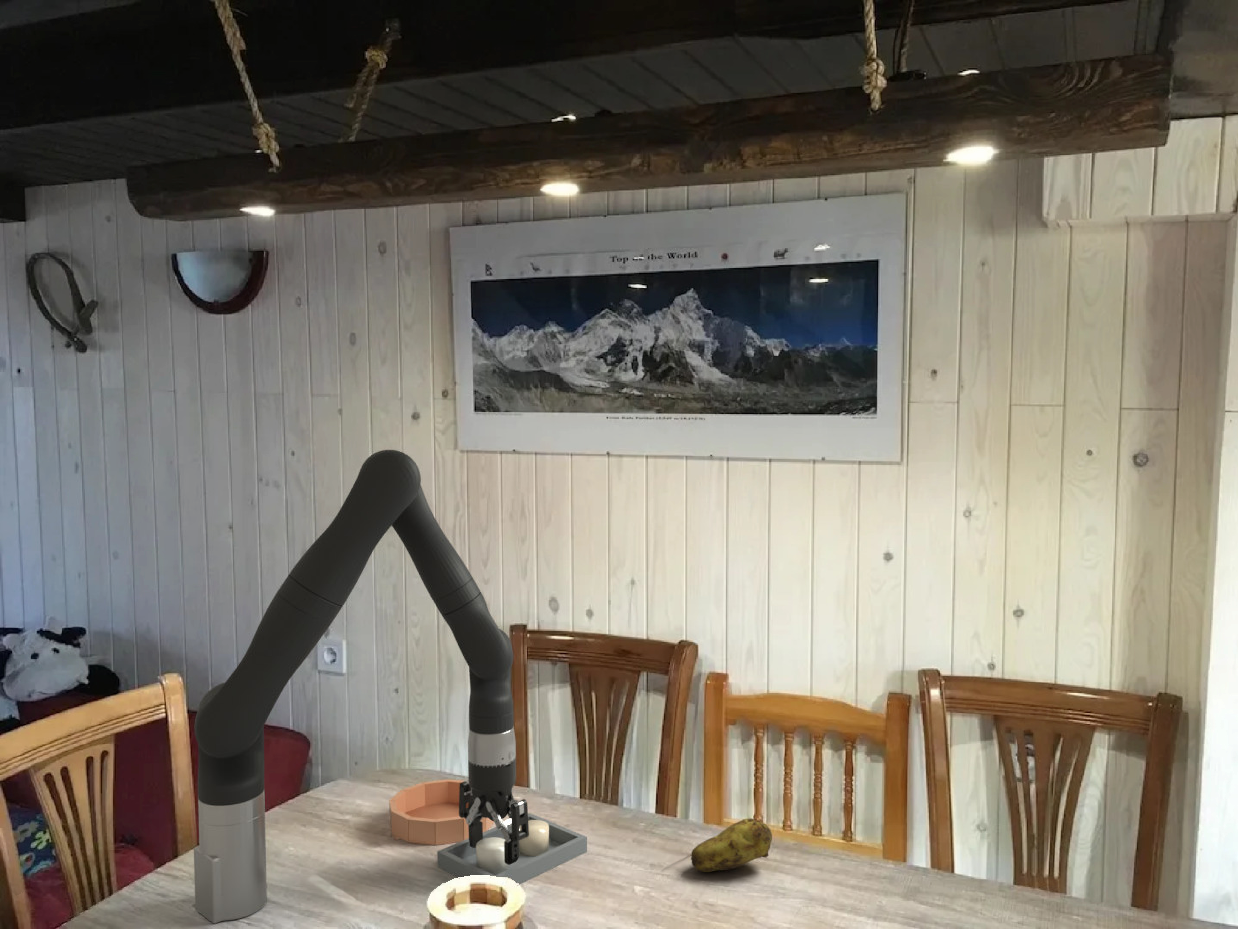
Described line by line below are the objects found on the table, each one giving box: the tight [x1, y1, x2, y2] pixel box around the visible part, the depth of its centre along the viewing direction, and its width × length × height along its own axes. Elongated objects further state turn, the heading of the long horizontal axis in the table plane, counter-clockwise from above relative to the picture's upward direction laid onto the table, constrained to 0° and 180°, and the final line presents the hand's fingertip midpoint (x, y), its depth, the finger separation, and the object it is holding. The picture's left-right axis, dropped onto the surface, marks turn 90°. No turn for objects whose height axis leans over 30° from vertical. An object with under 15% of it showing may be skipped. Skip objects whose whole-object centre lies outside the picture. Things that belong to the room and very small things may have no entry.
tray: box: [436, 812, 588, 885], centre depth 162 cm, size 20×14×4 cm
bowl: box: [388, 778, 495, 846], centre depth 176 cm, size 18×18×5 cm
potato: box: [690, 817, 773, 873], centre depth 161 cm, size 8×13×8 cm, turn 82°
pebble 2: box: [519, 820, 549, 857], centre depth 165 cm, size 5×5×4 cm
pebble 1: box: [476, 837, 508, 875], centre depth 159 cm, size 5×5×4 cm
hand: (493, 854), depth 159 cm, fingers open, 8 cm apart
